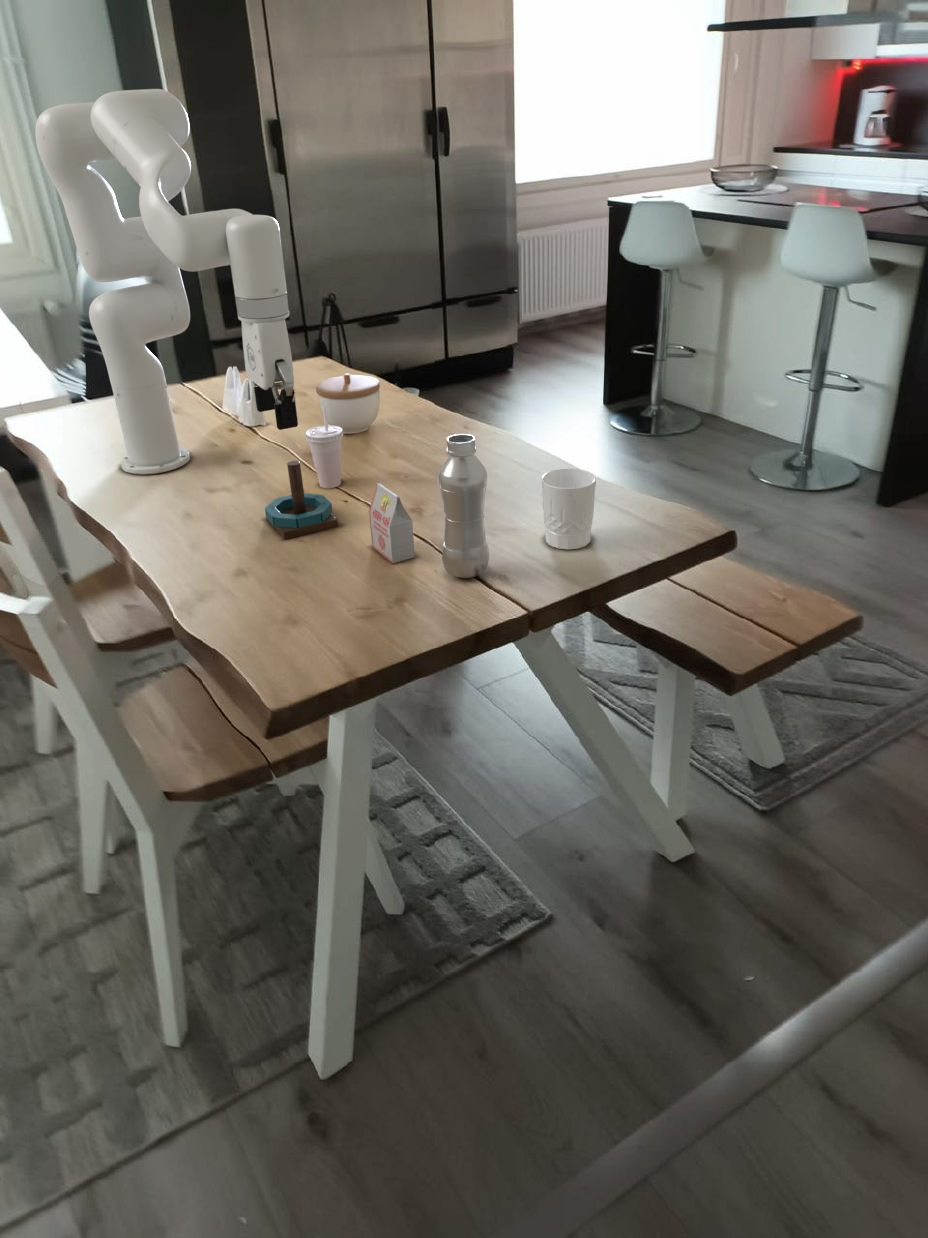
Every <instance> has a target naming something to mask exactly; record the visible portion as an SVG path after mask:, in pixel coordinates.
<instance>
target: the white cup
mask: <svg viewBox="0 0 928 1238" xmlns="http://www.w3.org/2000/svg"><path fill="white" fill-rule="evenodd" d="M596 485H597V476H596V475H595V474H594V473H592V472H590V471H588V470H585V469H579V468H559V469H553V470H550V471H548V472H546V473H544V474H543V475H542V477H541V492H542V510H543V523H544V529H545V530H544V531H545V542H546V543H547V544H548V545H549V546H550V547H553V548H556V549H559V550H577V549H581V548H584V547H586V546H587V545H588V544H590V543H591V536H592V535H591V534H592V527H593V519H594V513H595V512H594V510H595V499H596V498H595V497H596Z"/></svg>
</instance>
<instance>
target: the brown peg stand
mask: <svg viewBox="0 0 928 1238" xmlns="http://www.w3.org/2000/svg"><path fill="white" fill-rule="evenodd" d="M286 467H287V472H288V481H289V487H290V495H292V502H293V508H288V509H284V510H283V511H282V512H281V514H292V515H299V514H303V513H307V512H311V511H314V510H316V509H317V507H311V506H306V503H305V496H304V493H305V489H304V482H303V473H302V468H301V462H300V461H298V460H291V461H287V463H286ZM265 515H266V513H265ZM265 519H266V521H267V522H268V523H269V524H270V525H271V526H272V528H273V529H275V531H276V532H277V533H278V534H279V535H280V536H281V537H282V538H283V539H284V540H288V539H291V538H295V537H299V536H303V535H307V534H312V533H315V532H319V531H324V530H328V529H331V528H336V527H339V524H338V523H339V522H338V518H337V517H335V516H334V514H333V513H332V514H331V515H330V516H329V517H328V518H327V519H326V520H325V521H324V522H322V523H318V524H314V525H310V526H306V527H302V528H288V527H277V526H274V525H273V524H272V523H271V522H270V521H269V520H268V519H267V518H266V517H265Z"/></svg>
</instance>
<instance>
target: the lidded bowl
mask: <svg viewBox="0 0 928 1238" xmlns="http://www.w3.org/2000/svg"><path fill="white" fill-rule="evenodd" d="M380 387H381V386H380V380H379V379H377V378H376V377H373V376H369V375H361V374H350V373H348V372H347V373H343V375H339V376H334V377H329V378H326V379H323V380H321V381H320V382H318V383H316V386H315V392H316V395H317V401H318V407H319V409H320V412H321V415H322V417H323V418H324V416H323V406H326V413H327V422H328V425H330V426H337V427H340V428H341V429H342V432H343V435H345V434H346V435H349V434H359V433H364V432H366V431H367V430H369V429H370V427H371V425H372V424H373V423H374V422H375V420H376V418H377V417H378V415H379V414H378V413H379V411H380V404H381V395H380V393H381V392H380Z"/></svg>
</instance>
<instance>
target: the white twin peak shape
mask: <svg viewBox="0 0 928 1238" xmlns="http://www.w3.org/2000/svg"><path fill="white" fill-rule="evenodd" d="M254 387H257V386H254V384H253V381H252V380H251V379H250V378H245V379H244V380H243V381H242V379H241V375H240V372H239V369H238V367H237V366H234V365H233V367H232V366H228V367H227V370H226V373H225V383H224V389H223V399H222V407H221V408H222V410H223V411H225V412H227V413H229V414H231V415H234V416H237V417H238V418H237V421H238V422H241V423H242V425H243V426H246V427H255V426H259V425H260V426H266V425H267V420H266V417H265V413H264V411H263V412H259V411H258V410H257V406H256V399H255V392H254Z"/></svg>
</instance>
